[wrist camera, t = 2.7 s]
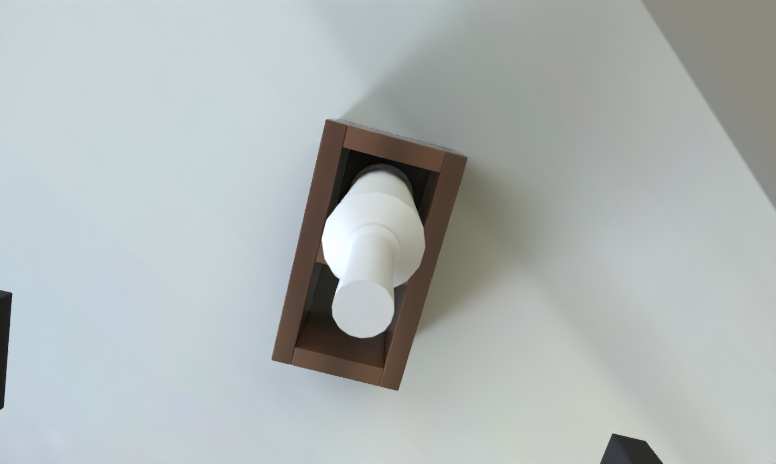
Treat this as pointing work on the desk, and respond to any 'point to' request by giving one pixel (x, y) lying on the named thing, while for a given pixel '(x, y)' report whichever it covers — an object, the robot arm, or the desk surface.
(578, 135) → the desk surface
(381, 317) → the bottle
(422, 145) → the caddy
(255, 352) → the desk surface
